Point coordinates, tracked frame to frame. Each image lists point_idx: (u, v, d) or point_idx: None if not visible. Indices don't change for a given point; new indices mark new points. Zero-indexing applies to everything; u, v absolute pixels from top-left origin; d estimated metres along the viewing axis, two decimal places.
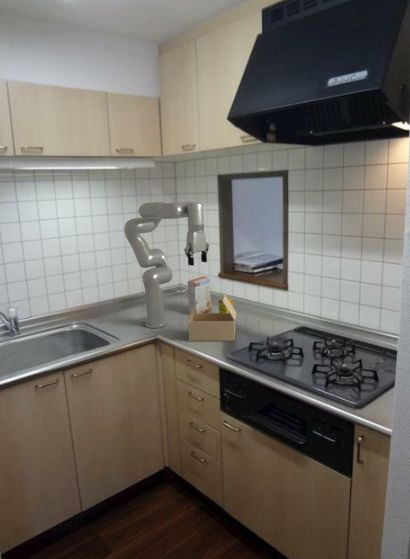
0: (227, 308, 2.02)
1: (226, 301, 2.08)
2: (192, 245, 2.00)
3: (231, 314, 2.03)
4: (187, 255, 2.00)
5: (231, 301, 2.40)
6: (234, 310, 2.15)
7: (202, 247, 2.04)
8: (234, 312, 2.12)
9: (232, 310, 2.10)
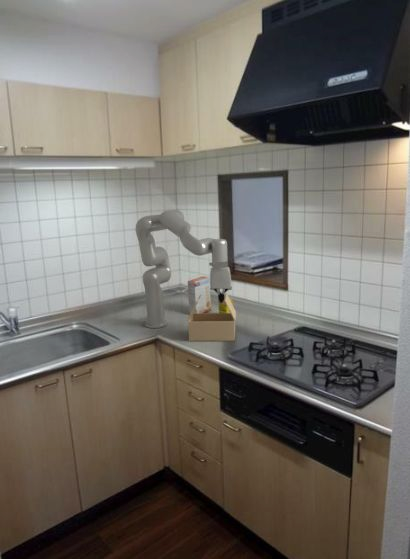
0: (228, 307, 2.02)
1: (228, 300, 2.08)
2: None
3: (232, 314, 2.03)
4: (226, 291, 2.07)
5: (231, 301, 2.40)
6: (234, 310, 2.14)
7: None
8: (234, 312, 2.12)
9: (233, 310, 2.10)
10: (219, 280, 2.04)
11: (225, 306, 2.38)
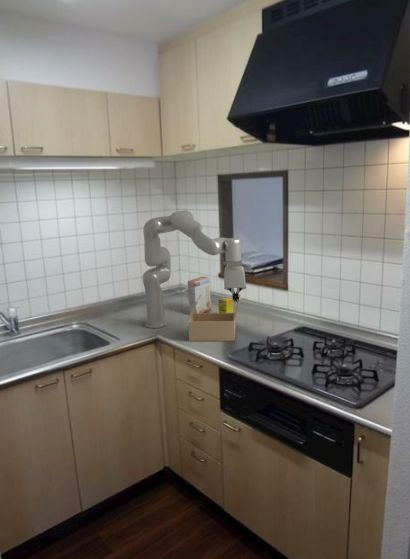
0: (238, 307, 2.02)
1: (239, 300, 2.08)
2: None
3: (236, 314, 2.02)
4: (240, 290, 2.06)
5: (231, 301, 2.40)
6: None
7: None
8: (236, 312, 2.12)
9: (237, 310, 2.10)
10: (234, 279, 2.03)
11: (225, 306, 2.38)
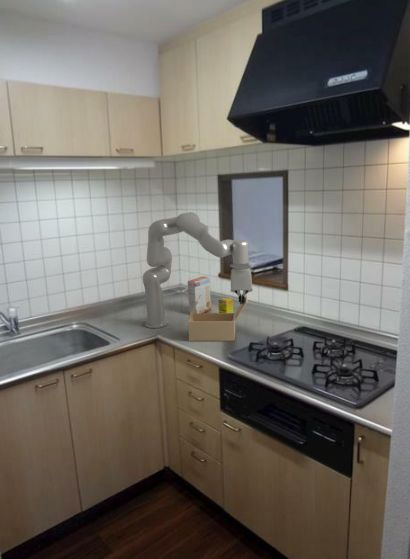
0: (242, 309, 2.02)
1: (244, 302, 2.08)
2: None
3: (238, 315, 2.02)
4: (246, 293, 2.06)
5: (231, 301, 2.40)
6: (237, 311, 2.14)
7: None
8: (237, 313, 2.12)
9: (239, 311, 2.10)
10: (240, 282, 2.03)
11: (225, 306, 2.38)
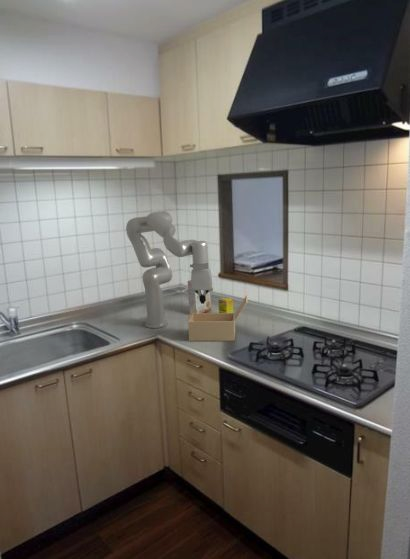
0: (242, 309, 2.02)
1: (244, 302, 2.08)
2: None
3: None
4: None
5: (231, 301, 2.40)
6: (237, 311, 2.14)
7: None
8: (237, 313, 2.12)
9: (239, 311, 2.10)
10: (200, 281, 2.05)
11: (225, 306, 2.38)
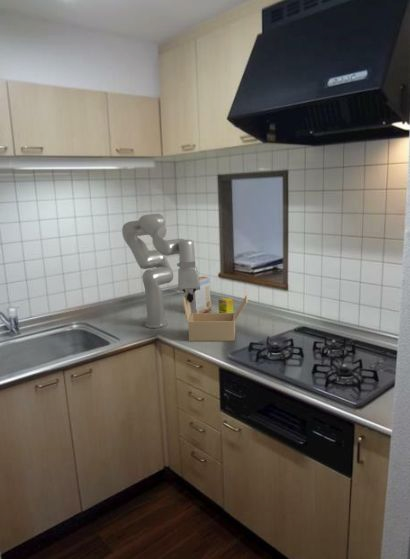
0: (242, 309, 2.02)
1: (244, 302, 2.08)
2: None
3: None
4: (194, 291, 2.09)
5: (231, 301, 2.40)
6: (237, 311, 2.14)
7: None
8: (237, 313, 2.12)
9: (239, 311, 2.10)
10: (187, 280, 2.05)
11: (225, 306, 2.38)
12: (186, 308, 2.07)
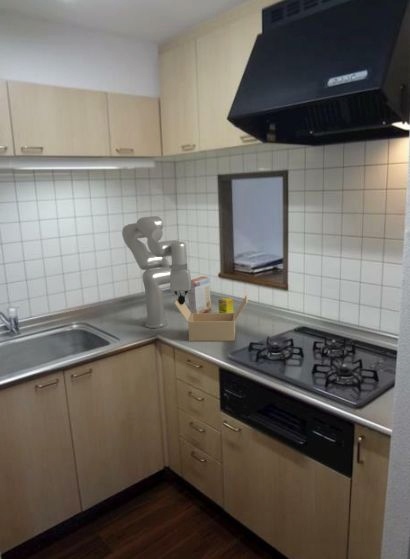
0: (242, 309, 2.02)
1: (244, 302, 2.08)
2: None
3: None
4: (186, 293, 2.09)
5: (231, 301, 2.40)
6: (237, 311, 2.14)
7: None
8: (237, 313, 2.12)
9: (239, 311, 2.10)
10: (179, 282, 2.06)
11: (225, 306, 2.38)
12: (182, 310, 2.08)
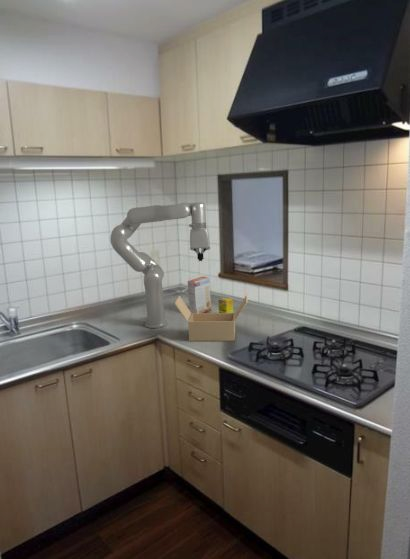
0: (242, 309, 2.02)
1: (244, 302, 2.08)
2: None
3: None
4: (204, 251, 2.25)
5: (231, 301, 2.40)
6: (237, 311, 2.14)
7: None
8: (237, 313, 2.12)
9: (239, 311, 2.10)
10: (198, 240, 2.22)
11: (225, 306, 2.38)
12: (182, 310, 2.08)
